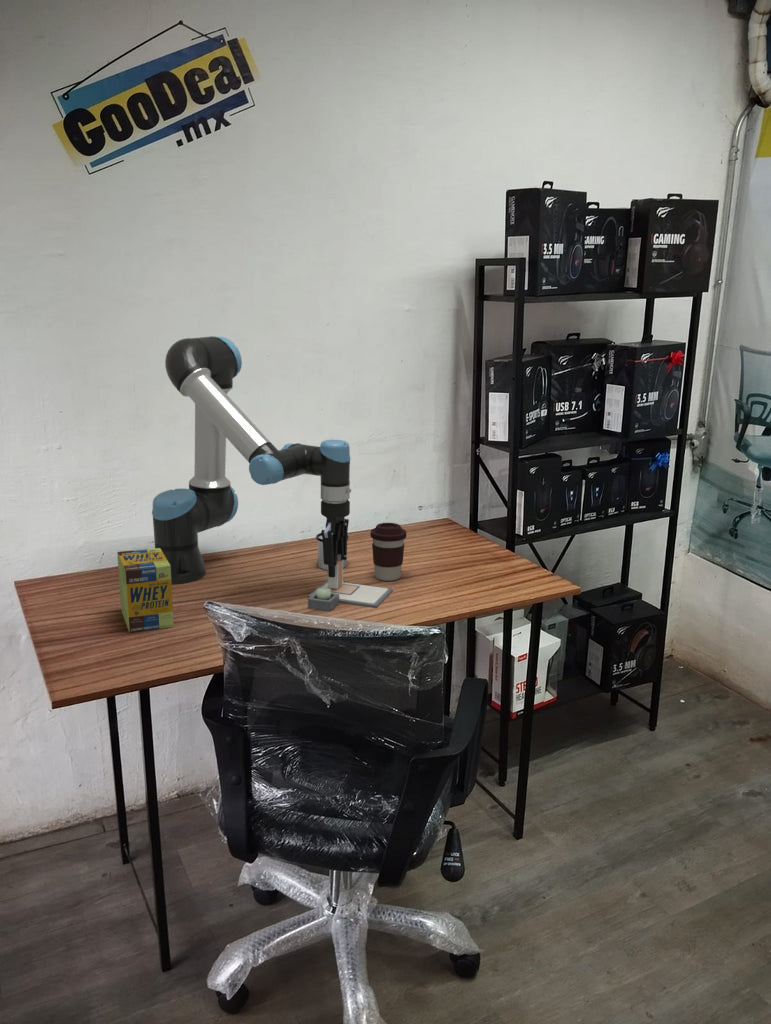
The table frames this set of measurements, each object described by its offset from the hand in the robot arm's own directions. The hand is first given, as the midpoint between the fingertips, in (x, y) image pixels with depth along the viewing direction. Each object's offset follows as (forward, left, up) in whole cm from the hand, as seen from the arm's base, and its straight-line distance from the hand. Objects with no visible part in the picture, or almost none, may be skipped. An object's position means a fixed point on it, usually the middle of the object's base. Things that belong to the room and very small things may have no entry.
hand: (335, 585), depth 225 cm
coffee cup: (+9, +16, -2) cm, 18 cm away
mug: (-10, +20, -2) cm, 22 cm away
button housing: (+1, -11, -2) cm, 11 cm away
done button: (+1, -11, 0) cm, 11 cm away
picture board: (+5, -1, -2) cm, 5 cm away
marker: (0, 0, -1) cm, 1 cm away
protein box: (-35, -34, -2) cm, 49 cm away
